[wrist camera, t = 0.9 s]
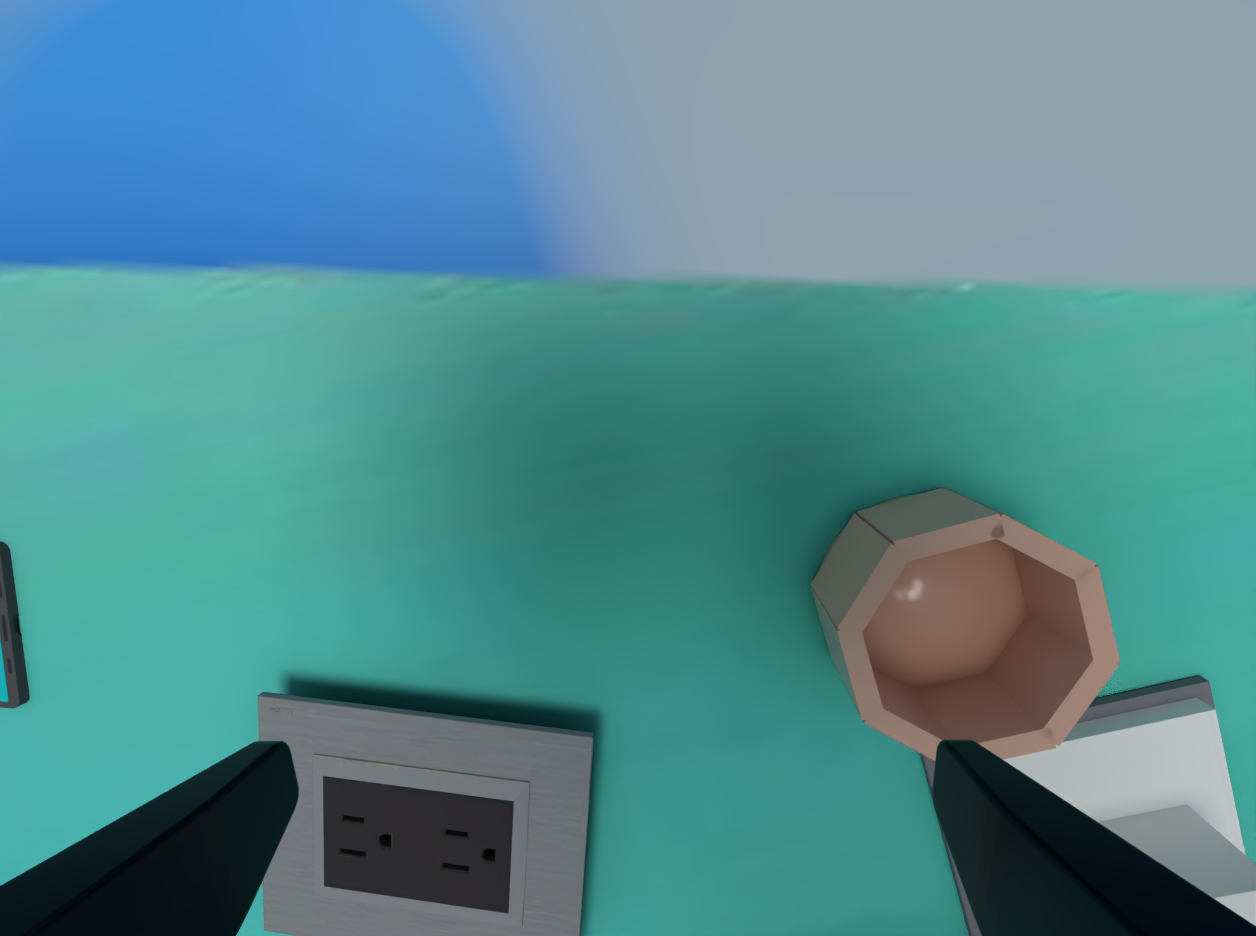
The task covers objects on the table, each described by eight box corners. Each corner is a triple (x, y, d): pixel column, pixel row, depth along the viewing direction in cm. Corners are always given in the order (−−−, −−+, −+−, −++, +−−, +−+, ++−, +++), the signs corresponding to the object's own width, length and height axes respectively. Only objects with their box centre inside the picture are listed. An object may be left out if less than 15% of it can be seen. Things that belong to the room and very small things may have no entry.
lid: (1242, 916, 23) (1368, 1039, 19) (992, 959, 24) (1057, 1084, 20) (1196, 697, 22) (1318, 775, 18) (937, 753, 23) (993, 839, 19)
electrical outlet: (600, 707, 25) (591, 743, 23) (584, 932, 27) (574, 987, 24) (291, 670, 26) (252, 700, 24) (295, 889, 28) (259, 937, 25)
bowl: (1048, 661, 23) (1135, 731, 18) (844, 708, 24) (880, 785, 19) (1001, 467, 22) (1081, 491, 17) (791, 524, 23) (817, 561, 18)
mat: (1249, 916, 23) (1259, 926, 23) (977, 963, 25) (982, 972, 24) (1199, 675, 22) (1209, 681, 22) (916, 738, 23) (920, 744, 23)
